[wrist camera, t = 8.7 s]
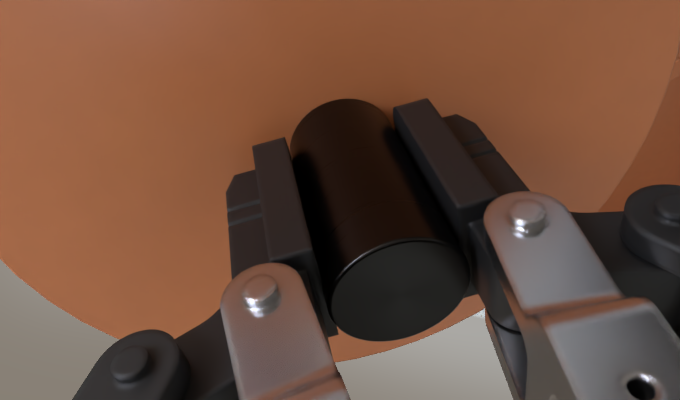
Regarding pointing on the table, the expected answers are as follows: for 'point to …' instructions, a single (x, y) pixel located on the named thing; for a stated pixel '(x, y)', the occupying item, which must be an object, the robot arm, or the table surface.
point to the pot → (655, 150)
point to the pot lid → (298, 141)
